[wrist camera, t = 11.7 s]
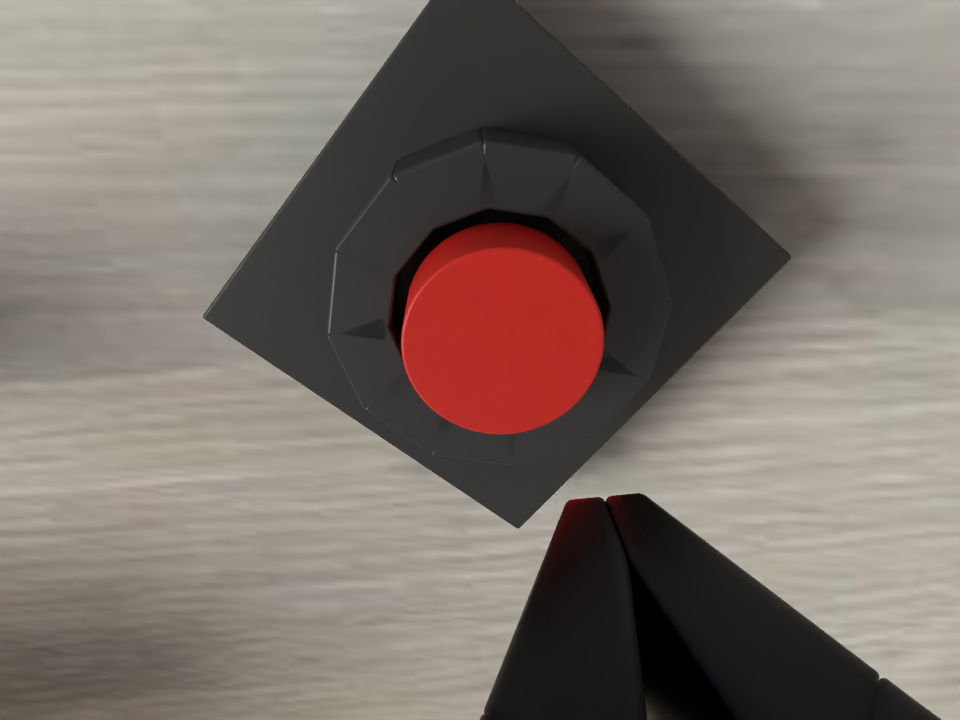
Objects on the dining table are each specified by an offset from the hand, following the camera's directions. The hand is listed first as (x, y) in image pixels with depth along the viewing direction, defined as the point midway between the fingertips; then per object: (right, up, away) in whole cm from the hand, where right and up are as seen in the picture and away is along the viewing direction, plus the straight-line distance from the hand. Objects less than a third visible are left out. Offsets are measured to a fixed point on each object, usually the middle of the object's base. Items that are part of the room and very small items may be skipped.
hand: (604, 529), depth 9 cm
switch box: (-1, +4, +10) cm, 11 cm away
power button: (-1, +3, +7) cm, 7 cm away
